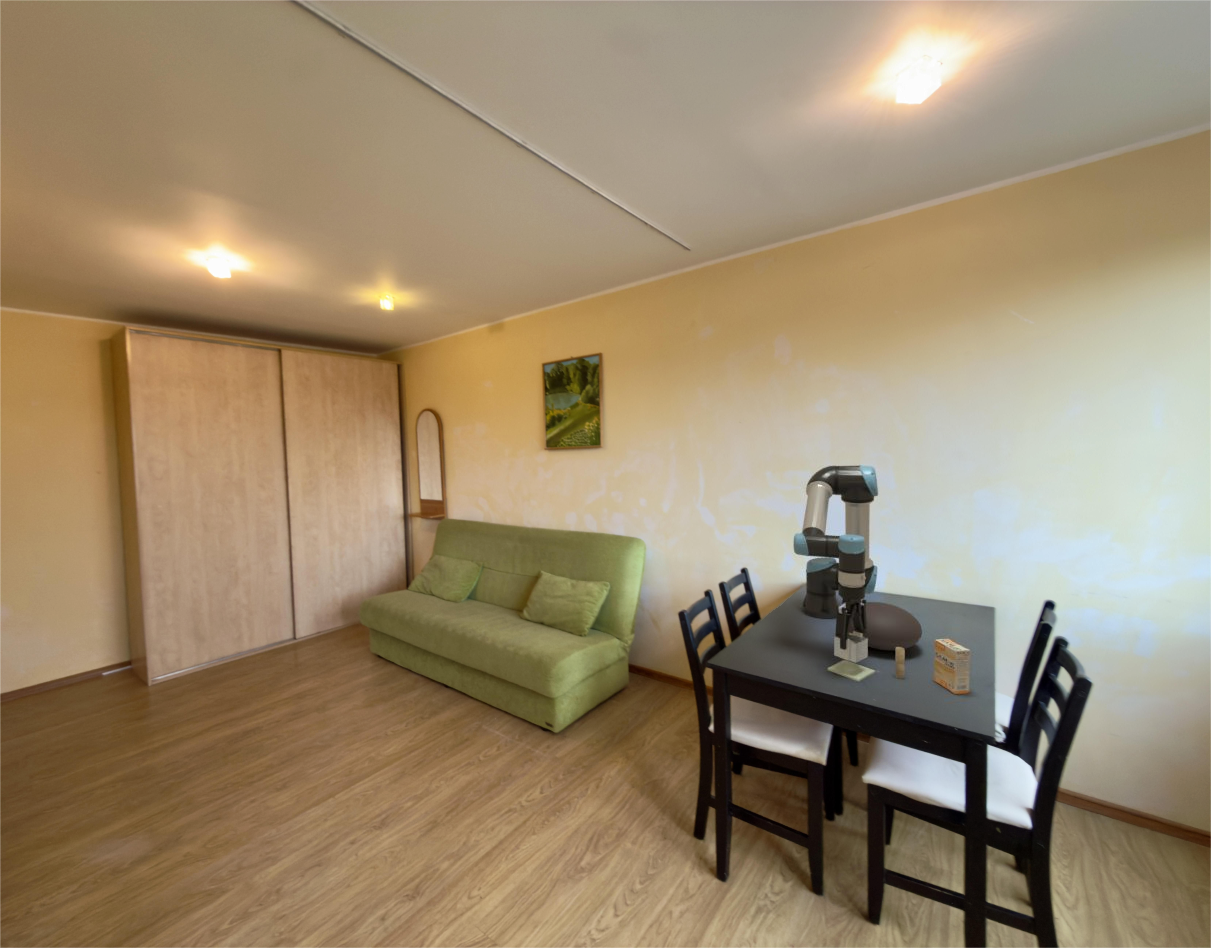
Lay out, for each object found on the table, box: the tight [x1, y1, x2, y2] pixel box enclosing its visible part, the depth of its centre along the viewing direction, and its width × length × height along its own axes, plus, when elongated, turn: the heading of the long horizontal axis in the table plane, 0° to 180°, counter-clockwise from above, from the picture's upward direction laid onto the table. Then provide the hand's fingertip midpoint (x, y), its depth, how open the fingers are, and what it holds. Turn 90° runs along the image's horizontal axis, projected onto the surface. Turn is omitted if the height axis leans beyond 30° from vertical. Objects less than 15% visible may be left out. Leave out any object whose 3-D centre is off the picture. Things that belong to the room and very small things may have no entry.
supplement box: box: [933, 638, 971, 695], centre depth 144 cm, size 8×5×13 cm, turn 5°
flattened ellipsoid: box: [847, 601, 923, 651], centre depth 174 cm, size 25×25×15 cm
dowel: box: [894, 647, 906, 680], centre depth 151 cm, size 2×2×9 cm
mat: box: [827, 659, 876, 682], centre depth 156 cm, size 10×10×1 cm
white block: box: [833, 633, 869, 664], centre depth 155 cm, size 7×7×6 cm
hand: (851, 655), depth 156 cm, fingers closed on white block, 7 cm apart
